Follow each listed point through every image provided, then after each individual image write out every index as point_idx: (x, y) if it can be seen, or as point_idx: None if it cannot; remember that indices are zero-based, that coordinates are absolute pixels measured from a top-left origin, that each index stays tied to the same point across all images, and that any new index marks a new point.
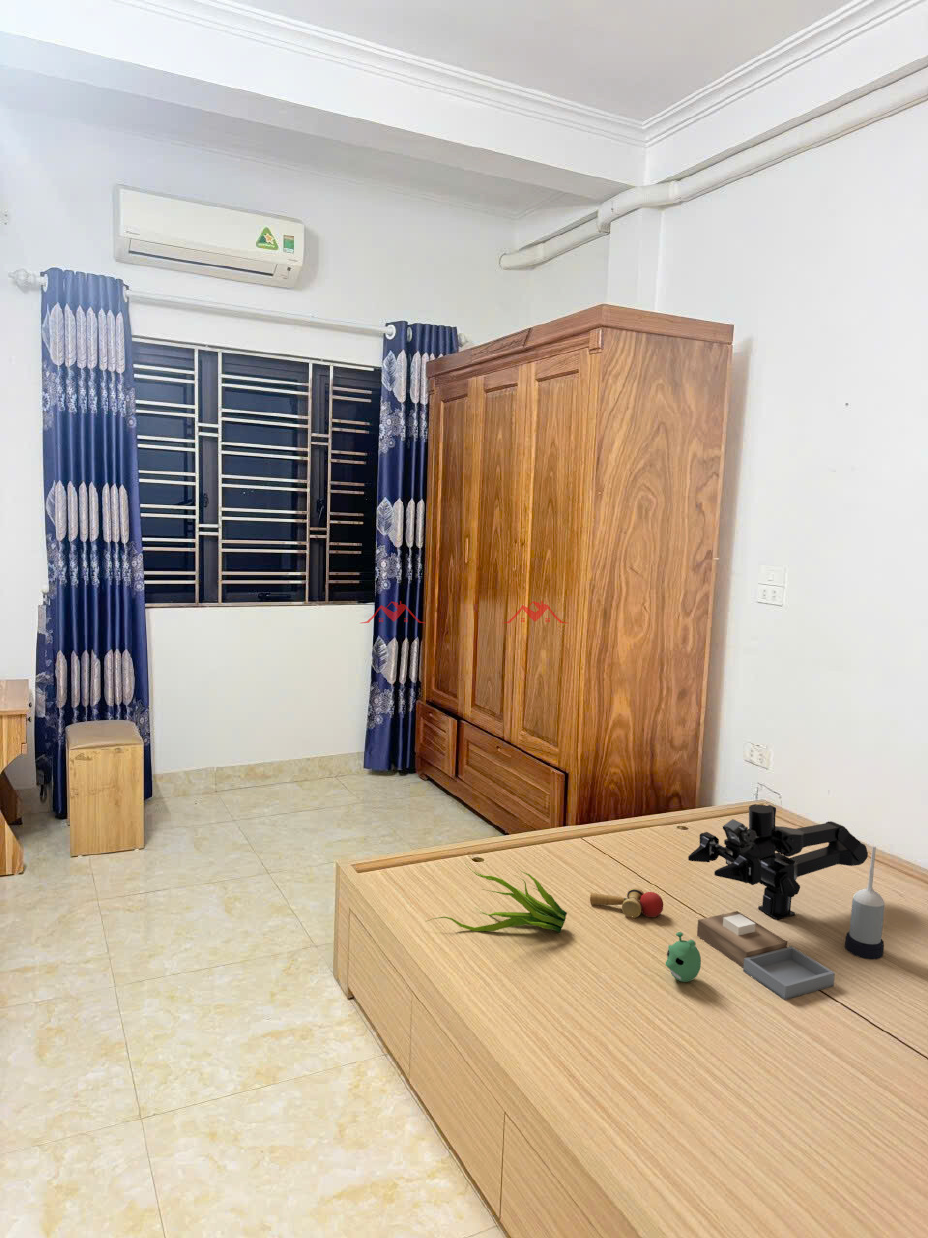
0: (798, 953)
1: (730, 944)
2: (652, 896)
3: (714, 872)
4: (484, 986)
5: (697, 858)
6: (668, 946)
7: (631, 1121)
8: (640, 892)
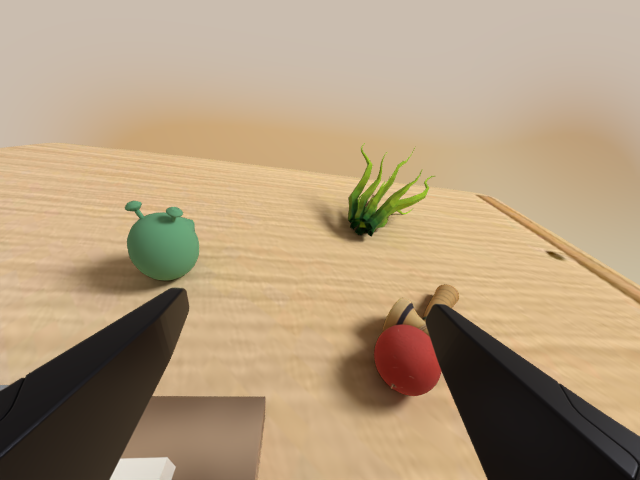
0: None
1: None
2: (402, 334)
3: (185, 292)
4: (293, 178)
5: (467, 392)
6: (192, 220)
7: (107, 161)
8: None
